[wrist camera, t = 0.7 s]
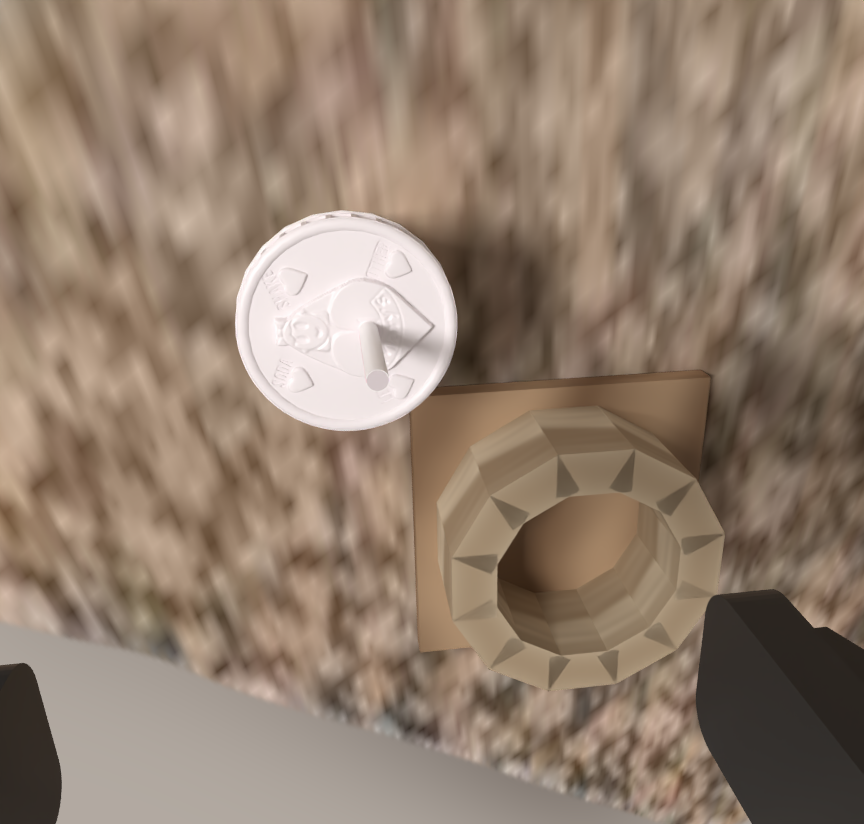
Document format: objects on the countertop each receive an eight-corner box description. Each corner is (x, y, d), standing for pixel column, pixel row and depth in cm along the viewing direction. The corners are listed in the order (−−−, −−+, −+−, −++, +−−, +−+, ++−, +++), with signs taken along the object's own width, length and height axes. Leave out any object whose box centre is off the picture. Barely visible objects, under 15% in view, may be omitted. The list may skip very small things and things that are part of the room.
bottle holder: (700, 369, 35) (764, 416, 30) (673, 613, 40) (724, 689, 35) (408, 389, 34) (423, 441, 28) (418, 638, 38) (432, 721, 33)
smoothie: (422, 337, 33) (486, 495, 20) (265, 344, 32) (227, 512, 19) (420, 176, 30) (492, 238, 17) (251, 180, 30) (195, 247, 17)
